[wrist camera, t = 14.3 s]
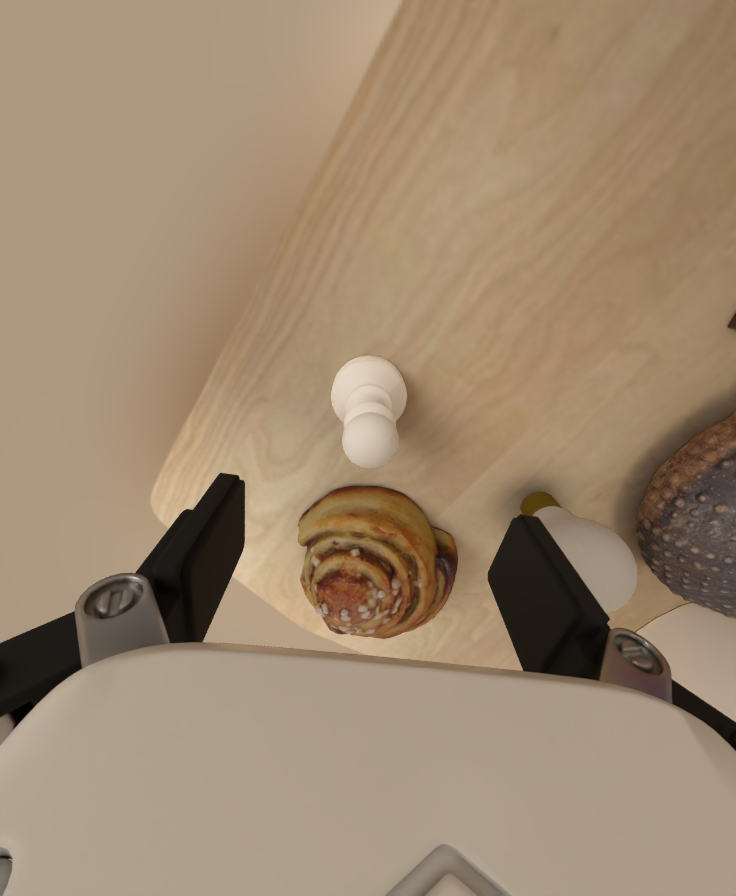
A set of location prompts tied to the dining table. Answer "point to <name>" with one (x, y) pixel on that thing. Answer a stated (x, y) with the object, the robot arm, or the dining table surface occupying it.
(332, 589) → the pastry
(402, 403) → the chess pawn
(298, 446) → the dining table surface
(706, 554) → the sea urchin shell
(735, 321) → the wooden board
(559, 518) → the light bulb
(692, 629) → the white stepped cylinder
